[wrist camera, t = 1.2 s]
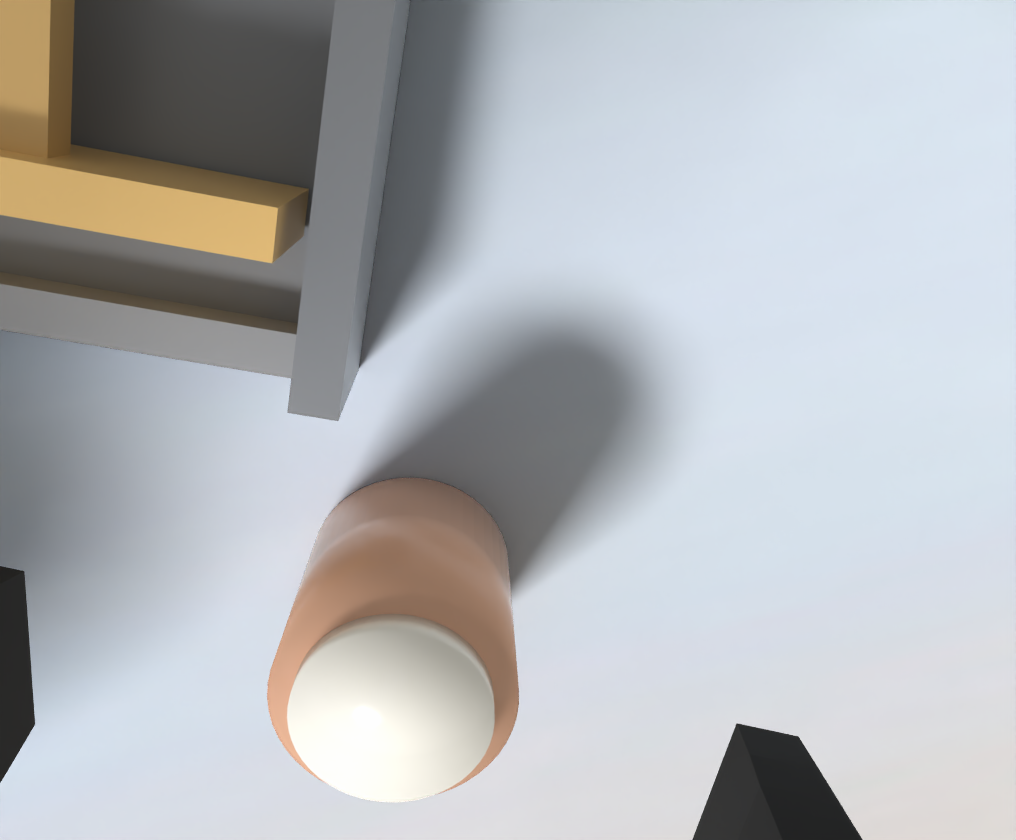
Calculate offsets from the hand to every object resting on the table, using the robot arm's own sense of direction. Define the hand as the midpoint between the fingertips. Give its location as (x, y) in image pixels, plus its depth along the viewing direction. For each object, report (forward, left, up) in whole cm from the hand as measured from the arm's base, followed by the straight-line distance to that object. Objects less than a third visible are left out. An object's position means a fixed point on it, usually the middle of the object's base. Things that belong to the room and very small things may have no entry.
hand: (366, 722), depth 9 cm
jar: (-5, 0, -13) cm, 14 cm away
